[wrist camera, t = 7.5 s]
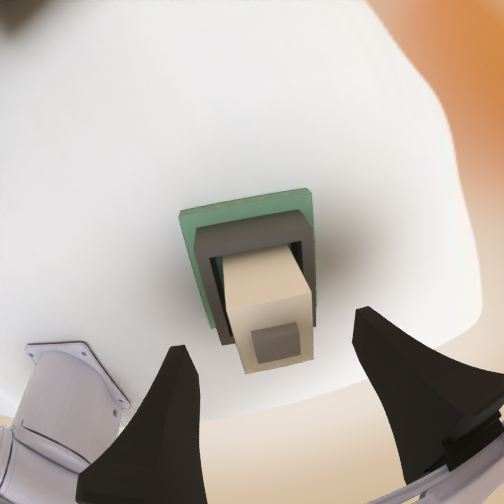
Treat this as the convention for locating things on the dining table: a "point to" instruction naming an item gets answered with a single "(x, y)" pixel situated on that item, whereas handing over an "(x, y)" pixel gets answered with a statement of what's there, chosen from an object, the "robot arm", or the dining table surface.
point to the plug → (268, 308)
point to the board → (246, 243)
